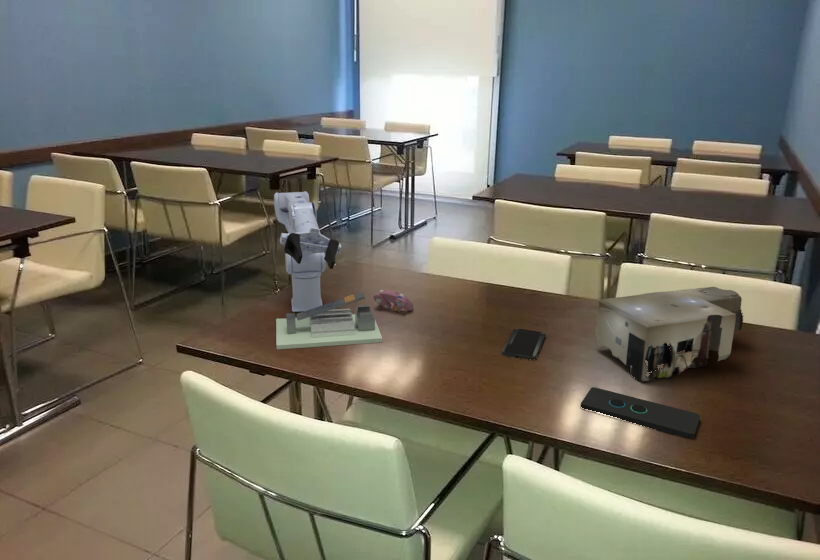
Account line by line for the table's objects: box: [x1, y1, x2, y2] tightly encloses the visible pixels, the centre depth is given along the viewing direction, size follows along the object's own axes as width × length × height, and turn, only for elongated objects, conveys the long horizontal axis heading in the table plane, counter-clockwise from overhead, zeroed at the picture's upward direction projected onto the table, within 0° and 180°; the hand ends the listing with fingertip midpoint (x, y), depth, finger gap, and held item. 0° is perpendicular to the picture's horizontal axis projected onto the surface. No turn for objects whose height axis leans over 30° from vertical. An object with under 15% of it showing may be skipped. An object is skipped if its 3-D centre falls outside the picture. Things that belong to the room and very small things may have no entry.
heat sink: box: [309, 308, 355, 338], centre depth 153 cm, size 10×10×3 cm
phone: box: [501, 328, 546, 361], centre depth 148 cm, size 8×1×15 cm
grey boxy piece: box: [594, 286, 744, 383], centre depth 142 cm, size 18×33×13 cm, turn 108°
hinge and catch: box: [285, 304, 376, 334], centre depth 153 cm, size 6×20×4 cm, turn 101°
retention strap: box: [296, 292, 366, 320], centre depth 152 cm, size 3×16×1 cm, turn 101°
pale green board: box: [275, 313, 383, 350], centre depth 154 cm, size 16×24×1 cm, turn 101°
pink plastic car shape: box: [373, 289, 414, 313], centre depth 167 cm, size 10×5×7 cm, turn 62°
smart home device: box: [580, 387, 701, 440], centre depth 119 cm, size 8×2×20 cm
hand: (316, 262), depth 146 cm, fingers open, 7 cm apart
